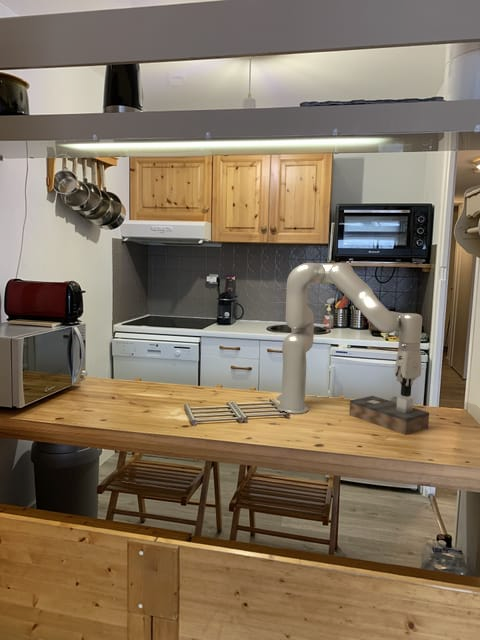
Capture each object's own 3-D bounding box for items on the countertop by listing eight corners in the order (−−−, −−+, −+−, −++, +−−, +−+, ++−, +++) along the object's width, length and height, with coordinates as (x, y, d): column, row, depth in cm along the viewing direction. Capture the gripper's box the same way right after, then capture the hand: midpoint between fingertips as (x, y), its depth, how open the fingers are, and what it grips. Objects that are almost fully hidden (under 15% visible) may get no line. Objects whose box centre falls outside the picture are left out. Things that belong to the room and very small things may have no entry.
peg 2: (396, 413, 181) (397, 397, 180) (402, 411, 183) (403, 396, 183) (405, 416, 178) (406, 400, 177) (411, 414, 180) (413, 398, 179)
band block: (349, 415, 193) (350, 400, 192) (371, 409, 201) (372, 395, 200) (405, 434, 172) (406, 418, 171) (428, 428, 180) (429, 412, 180)
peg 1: (365, 415, 193) (366, 401, 192) (371, 414, 195) (372, 399, 194) (373, 418, 189) (374, 403, 189) (380, 417, 192) (381, 402, 191)
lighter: (389, 409, 204) (391, 390, 203) (389, 407, 205) (390, 389, 204) (407, 410, 202) (408, 391, 201) (406, 409, 204) (408, 390, 203)
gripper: (405, 350, 170) (402, 401, 172) (430, 347, 179) (426, 395, 181) (387, 346, 176) (384, 396, 178) (412, 344, 185) (408, 390, 187)
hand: (405, 395), depth 180 cm, fingers closed
